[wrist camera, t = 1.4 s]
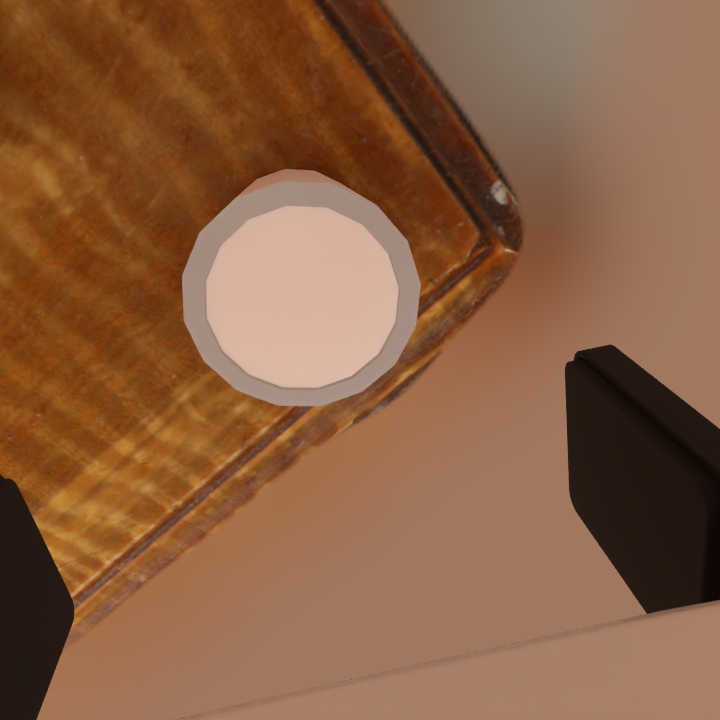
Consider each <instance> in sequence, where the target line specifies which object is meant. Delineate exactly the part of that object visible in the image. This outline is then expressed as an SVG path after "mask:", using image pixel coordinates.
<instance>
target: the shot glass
mask: <svg viewBox="0 0 720 720" xmlns="http://www.w3.org/2000/svg"><path fill="white" fill-rule="evenodd" d="M420 287H421V283H420V280H419V277H418V273H417V270H416V267H415V263H414V260H413V257H412V253H411V250H410V247H409V244H408V241H407V240H406V239H405V237H404V236H403V235H402V234H401V233H400V232H399V230H398V229H397V228H396V227H395V226H394V225H393V223H392V222H391V221H390V220H389V219H388V217H387V216H386V215H385V214H384V213H383V212H382V210H381V209H380V208H379V207H378V206H377V205H376V204H374V203H372V202H371V201H369V200H367V199H366V198H364V197H362V196H361V195H359V194H357V193H356V192H354V191H353V190H351V189H349V188H348V187H346V186H344V185H343V184H341V183H339V182H337V181H335V180H333V179H331V178H329V177H327V176H325V175H323V174H321V173H319V172H317V171H314V170H297V169H283V170H280V171H277V172H275V173H272V174H269V175H266V176H264V177H261V178H258V179H256V180H255V181H254V182H253V183H252V184H251V185H249V186H248V187H247V188H246V189H245V190H244V191H243V192H242V193H241V194H239V195H238V196H237V197H236V198H235V199H234V200H233V201H232V202H231V203H230V204H229V205H228V206H227V207H226V208H224V209H223V210H222V211H221V212H220V213H219V214H218V215H217V216H216V217H215V218H214V219H213V220H212V221H211V222H210V223H209V224H208V225H207V226H206V227H205V228H203V229H202V230H201V231H200V233H199V235H198V237H197V240H196V242H195V245H194V247H193V250H192V252H191V255H190V257H189V260H188V262H187V265H186V267H185V270H184V272H183V275H182V288H183V310H184V322H185V324H186V326H187V328H188V330H189V333H190V335H191V337H192V339H193V341H194V343H195V345H196V347H197V349H198V351H199V353H200V355H201V357H202V359H203V361H204V362H205V363H206V364H207V365H208V366H210V367H211V368H212V369H213V370H214V371H215V372H216V373H218V374H219V375H220V376H221V377H222V378H223V379H224V380H225V381H227V382H228V383H229V384H230V385H231V386H232V387H233V388H235V389H236V390H237V391H240V392H242V393H245V394H248V395H250V396H253V397H256V398H258V399H261V400H264V401H266V402H269V403H272V404H274V405H277V406H323V405H326V404H329V403H332V402H335V401H337V400H340V399H343V398H346V397H349V396H352V395H355V394H357V393H360V392H363V391H364V390H365V389H366V388H367V387H369V386H370V385H371V384H372V383H373V382H375V381H376V380H377V379H378V378H379V377H381V376H382V375H383V374H384V373H386V372H387V371H388V370H389V369H390V368H392V367H393V366H394V365H395V364H396V362H397V360H398V358H399V357H400V355H401V353H402V351H403V349H404V348H405V346H406V344H407V342H408V340H409V339H410V337H411V335H412V333H413V332H414V330H415V328H416V322H417V313H418V304H419V296H420Z"/></svg>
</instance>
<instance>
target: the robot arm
mask: <svg viewBox="0 0 720 720" xmlns="http://www.w3.org/2000/svg"><path fill="white" fill-rule="evenodd" d="M565 383H566V411H567V438H568V439H567V440H568V468H569V491H570V497H571V500H572V504H573V506H574V509H575V510H576V512H577V513H578V515H579V517H580V518H581V519H582V521H583V522H584V524H585V525H586V527H587V528H588V530H589V531H590V532H591V534H592V535H593V537H594V538H595V540H596V541H597V542H598V544H599V545H600V547H601V548H602V550H603V551H604V552H605V554H606V555H607V557H608V558H609V560H610V561H611V563H612V564H613V565H614V567H615V568H616V570H617V571H618V573H619V574H620V576H621V577H622V578H623V580H624V581H625V583H626V584H627V586H628V587H629V588H630V590H631V591H632V593H633V594H634V596H635V597H636V599H637V600H638V601H639V603H640V604H641V606H642V607H643V608H644V610H645V611H646V613H647V614H645V615H640V616H636V617H631V618H626V619H622V620H617V621H612V622H608V623H603V624H599V625H594V626H590V627H585V628H581V629H576V630H571V631H567V632H563V633H558V634H554V635H549V636H544V637H540V638H535V639H531V640H526V641H522V642H517V643H512V644H508V645H503V646H499V647H495V648H490V649H485V650H481V651H476V652H472V653H467V654H463V655H458V656H454V657H449V658H445V659H440V660H436V661H431V662H427V663H422V664H417V665H413V666H408V667H404V668H399V669H395V670H390V671H386V672H381V673H377V674H373V675H368V676H364V677H360V678H355V679H350V680H346V681H342V682H337V683H333V684H328V685H324V686H319V687H315V688H311V689H306V690H302V691H297V692H293V693H288V694H284V695H280V696H275V697H271V698H267V699H262V700H258V701H254V702H249V703H245V704H240V705H236V706H231V707H227V708H223V709H218V710H214V711H210V712H205V713H201V714H196V715H193V716H188V717H183V718H179V719H174V720H720V429H719V428H718V427H717V426H715V425H714V424H713V423H711V422H710V421H709V420H708V419H706V418H705V417H704V416H703V415H701V414H700V413H699V412H698V411H696V410H695V409H694V408H692V407H691V406H690V405H689V404H687V403H686V402H685V401H684V400H682V399H681V398H680V397H678V396H677V395H676V394H675V393H673V392H672V391H671V390H669V389H668V388H667V387H666V386H664V385H663V384H662V383H661V382H659V381H658V380H657V379H655V378H654V377H653V376H652V375H650V374H649V373H648V372H646V371H645V370H644V369H643V368H641V367H640V366H639V365H637V364H636V363H635V362H634V361H633V360H631V359H630V358H629V357H627V356H626V355H625V354H624V353H622V352H621V351H620V350H619V349H617V348H616V347H615V346H613V345H606V346H602V347H596V348H592V349H587V350H582V351H578V352H577V353H576V354H575V357H574V361H570V362H567V364H566V367H565ZM73 620H74V605H73V601H72V598H71V596H70V594H69V591H68V589H67V587H66V585H65V583H64V581H63V579H62V577H61V575H60V573H59V571H58V569H57V567H56V565H55V563H54V560H53V558H52V556H51V554H50V552H49V550H48V548H47V546H46V544H45V542H44V540H43V538H42V536H41V534H40V531H39V529H38V527H37V525H36V523H35V521H34V519H33V517H32V515H31V513H30V511H29V509H28V507H27V505H26V503H25V500H24V498H23V496H22V494H21V492H20V490H19V488H18V486H17V485H16V483H15V482H14V481H13V480H11V479H4V478H3V477H2V476H1V475H0V720H36V719H37V716H38V714H39V711H40V709H41V706H42V703H43V701H44V698H45V695H46V693H47V690H48V687H49V685H50V682H51V679H52V677H53V674H54V671H55V669H56V666H57V663H58V661H59V658H60V655H61V653H62V650H63V647H64V645H65V642H66V639H67V637H68V634H69V631H70V629H71V626H72V623H73Z"/></svg>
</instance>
